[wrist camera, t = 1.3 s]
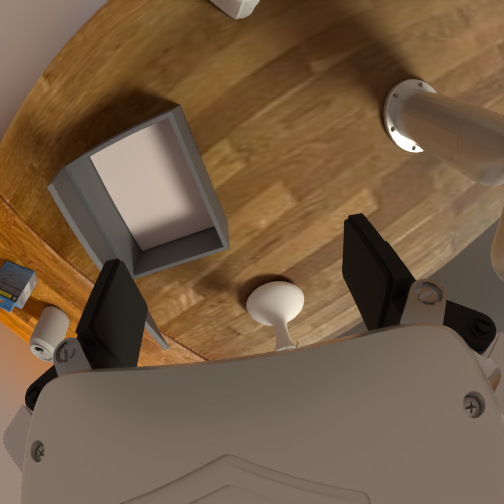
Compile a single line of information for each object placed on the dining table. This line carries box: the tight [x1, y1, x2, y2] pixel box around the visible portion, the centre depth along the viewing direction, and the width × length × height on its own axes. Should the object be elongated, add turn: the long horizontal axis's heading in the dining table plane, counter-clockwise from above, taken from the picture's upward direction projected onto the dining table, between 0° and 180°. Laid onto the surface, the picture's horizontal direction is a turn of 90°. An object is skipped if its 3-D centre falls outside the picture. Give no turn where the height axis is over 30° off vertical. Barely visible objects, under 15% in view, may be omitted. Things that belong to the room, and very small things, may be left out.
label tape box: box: [0, 261, 37, 313], centre depth 41 cm, size 9×4×12 cm, turn 67°
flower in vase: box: [246, 281, 304, 351], centre depth 45 cm, size 13×11×25 cm
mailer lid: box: [47, 166, 169, 350], centre depth 29 cm, size 17×20×1 cm
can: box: [30, 306, 69, 362], centre depth 49 cm, size 8×8×12 cm
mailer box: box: [65, 105, 229, 279], centre depth 37 cm, size 16×20×7 cm
